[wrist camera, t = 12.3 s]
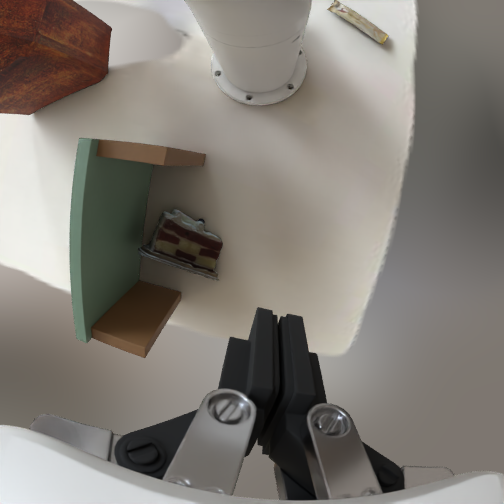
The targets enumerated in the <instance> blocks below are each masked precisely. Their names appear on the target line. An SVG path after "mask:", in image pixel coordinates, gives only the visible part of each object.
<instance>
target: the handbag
mask: <svg viewBox="0 0 504 504" xmlns="http://www.w3.org/2000/svg"><path fill="white" fill-rule="evenodd" d="M111 31H112V28H111V27H110V26H109V25H107V24H106V23H105V22H103V21H102V20H100V19H99V18H98V17H96V16H95V15H93V14H92V13H91V12H89V11H87V10H86V9H85V8H83V7H82V6H80V5H79V4H77V3H76V2H74V1H73V0H0V113H7V114H23V115H30V114H32V113H34V112H36V111H38V110H39V109H41V108H43V107H45V106H47V105H49V104H51V103H53V102H55V101H57V100H59V99H61V98H63V97H65V96H67V95H70V94H72V93H74V92H76V91H79V90H81V89H83V88H86V87H88V86H91V85H93V84H96V83H98V82H100V81H101V80H102V79H103V78H104V77H105V76H106V74H107V73H108V61H109V48H110V37H111Z"/></svg>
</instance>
